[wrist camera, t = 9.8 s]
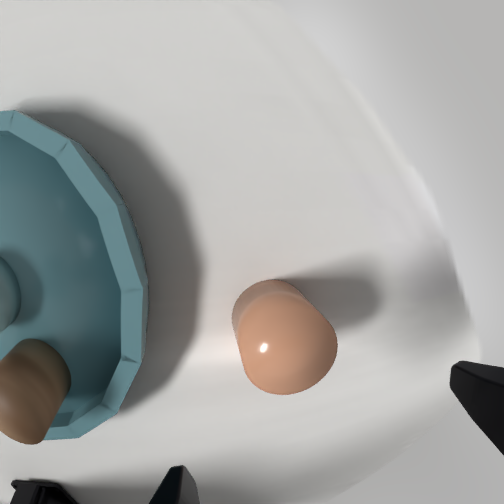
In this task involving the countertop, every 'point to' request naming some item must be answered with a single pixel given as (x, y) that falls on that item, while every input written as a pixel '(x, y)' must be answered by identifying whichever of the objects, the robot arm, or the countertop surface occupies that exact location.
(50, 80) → the countertop surface
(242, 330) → the bead terracotta
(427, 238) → the countertop surface
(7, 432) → the bead walnut
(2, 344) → the teal round plate
